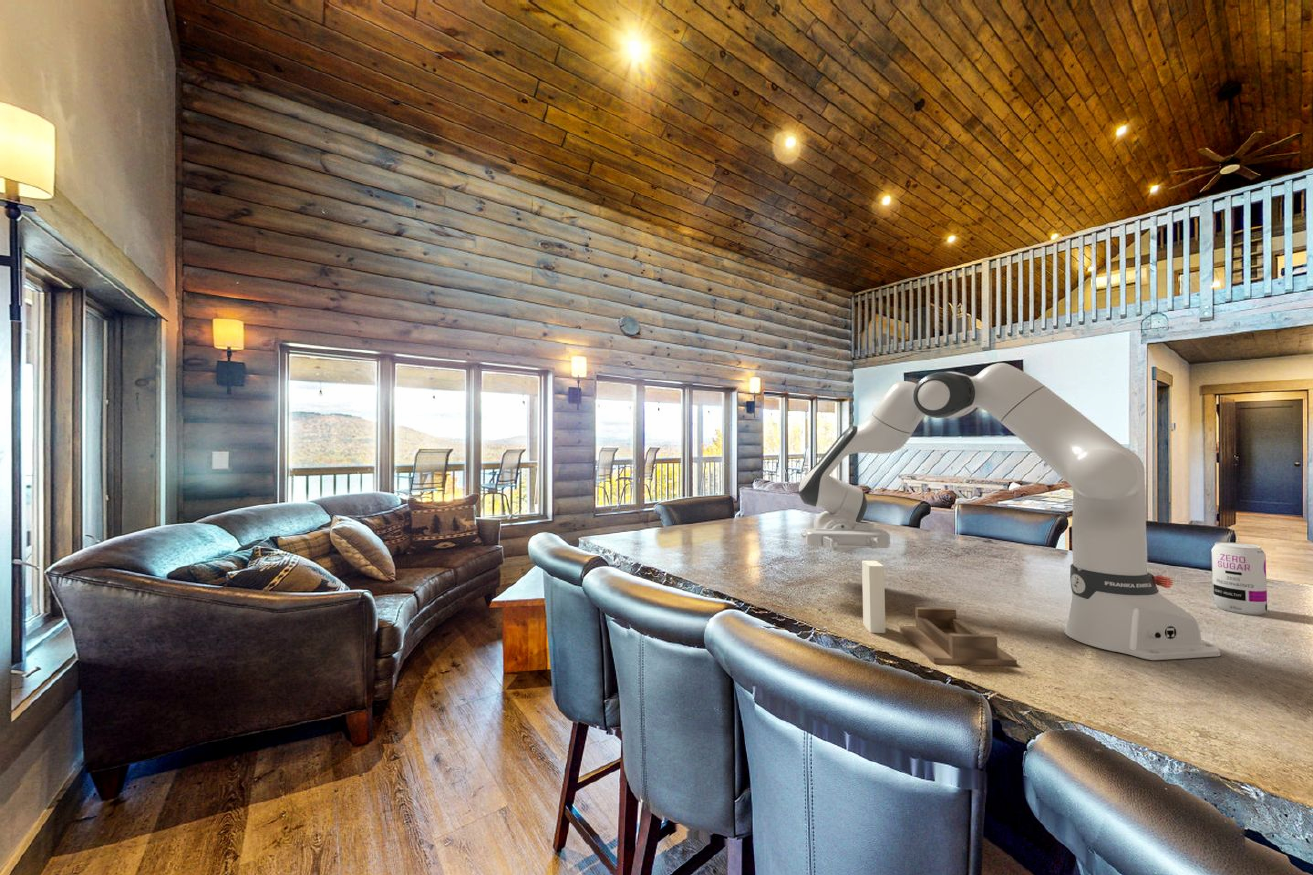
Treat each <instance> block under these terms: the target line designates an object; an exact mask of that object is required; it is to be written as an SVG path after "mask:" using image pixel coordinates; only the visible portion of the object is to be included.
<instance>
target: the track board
mask: <svg viewBox="0 0 1313 875" xmlns="http://www.w3.org/2000/svg"><path fill="white" fill-rule="evenodd" d="M914 608H915V610H914V611H915V612H914V613H915V626H911V625H900V626H899V631H900V632H901V633H902V634H903V635H904V636H905V637H906V638H907V639H908V640H909V641H910V642H911V643H912V644H913V645H914V646H915V647H916V648H917V649H918V650H919V651H921V652H922V653H923V655H925V656H926V657H927V658H928V659H929V660H930V662H932V663H933V664H936V665H937V664H938V665H939V664H940V665H942V664H943V665H972V666H974V665H977V666H979V665H980V666H983V665H984V666H1006V667H1007V666H1012V667H1013V666H1014V667H1017V665H1018V663H1017V662H1018V660H1017V659H1016V658H1014V657H1013V656H1012V655H1010V654H1009V653H1007V652H1006V651H1004V650H1003V649H1001V648H1000V647H999V646H998V636H996V635H995V634H989V633H986V634H985V633H979V632H978V631H976V630H975V629H974V628H972V627H970V626H969V625H968V624H966V623H965V622H963V621H962V620H961V619H959V618H957V610H956V609H955V608H954V607H923V606H922V607H921V606H920V607H919V606H918V607H916V606H915V607H914Z"/></svg>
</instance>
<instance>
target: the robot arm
mask: <svg viewBox="0 0 1313 875" xmlns="http://www.w3.org/2000/svg"><path fill="white" fill-rule="evenodd" d="M978 409H981V410H984V411H985V412H987V413H989V414H990V415H991V416H992V417H993V418H995V419H996V421H998V422H999V423H1000V424H1002V425H1003V426H1004V427H1005V428H1006V429H1008V430H1009V431H1010V432H1011V433H1012V434H1014V435H1015V436H1016V437H1017V438H1018V439H1019V440H1020V441H1022V442H1023V443H1024V444H1025V445H1026V446H1027V447H1029V449H1031V450H1032V451H1033V452H1034V453H1035V454H1036V455H1037V456H1038V457H1039V458H1040V459H1041V460H1042V461H1043V462H1044V463H1045V464H1046V465H1047V466H1049V468H1051V469H1052V470H1053V471H1054V472H1055V473H1056V474H1057V475H1058V476H1059V477H1061V478H1062V480H1063V481H1065V482H1066V483H1067V484H1068V485H1069V486H1070V487H1071V488H1072V491H1073V492H1072V494H1073V495H1072V517H1071V519H1072V520H1071V544H1072V549H1071V550H1072V563H1071V564H1070V571H1069V573H1070V574H1069V576H1070V579H1069V580H1070V588H1071V591H1072V592H1071V593H1072V594H1071V603H1070V604H1071V605H1070V609H1069V611H1070V612H1069V615H1068V620H1067V622H1066V626H1065V628H1064V633H1065V634H1066V636H1067V637H1069V638H1071V639H1073V640H1075V641H1076V642H1080V643H1082V644H1085V645H1088V646H1091V647H1095V648H1098V649H1102V650H1106V651H1110V652H1116V653H1117V652H1118V653H1122V654H1126V655H1130V656H1133V657H1137V658H1140V659H1143V660H1150V661H1161V660H1164V661H1165V660H1177V659H1178V660H1179V659H1180V660H1181V659H1194V658H1195V659H1196V658H1210V657H1211V658H1212V657H1220V656H1221V650H1220V649H1219V648H1218V647H1217V646H1215V645H1213V644H1212V643H1210V642H1208V641H1206V640H1204V639H1202V636H1201V630H1200V626H1199V624H1198V621H1197V620H1196V618H1195V617H1194V616H1193V615H1192V614H1191V613H1190V612H1187V611H1186V610H1185V609H1183V608H1182V607H1180V606H1178V604H1176V603H1175V602H1173V601H1171V600H1170V599H1168V597H1166V596H1164V595H1163V594H1162V593H1160V591H1159V589H1158V587H1157V586H1160V587H1162V588H1165V589H1170V588H1171V587H1172V586H1173V584H1174V582H1173V579H1172V578H1170V577H1167V576H1163V575H1160V574H1158V575H1155V576H1154V574H1152V573H1150V572H1149V571H1148V543H1147V518H1146V517H1147V516H1146V514H1147V513H1146V512H1147V511H1146V510H1147V508H1146V484H1145V483H1146V481H1145V480H1146V478H1145V477H1146V476H1145V473H1146V472H1145V466H1144V463H1143V461H1142V459H1141V458H1140V457H1139V456H1138V454H1136V453H1135V452H1134V451H1133V450H1131V449H1129V448H1128V447H1125V446H1123V445H1122V444H1121V443H1119V442H1118V441H1117V440H1116V439H1114V438H1113V437H1112V436H1111V435H1109V434H1108V433H1107V432H1105V431H1104V430H1103V429H1102V428H1101V427H1099V426H1098V425H1096V424H1095V423H1094V422H1092V420H1090V419H1089V418H1088V417H1086V416H1085V415H1084V414H1083V413H1082V412H1080V411H1078V409H1076V408H1075V407H1074V406H1072V405H1071V404H1070V403H1068V402H1067V401H1065V400H1064V399H1063V398H1062V397H1060V396H1059V395H1058V394H1056V393H1055V392H1054V391H1052V390H1051V389H1050V388H1048V387H1047V386H1046V385H1044V384H1043V383H1042V382H1040V381H1039V380H1038V379H1037V378H1035V377H1034V376H1032V375H1031V374H1028V373H1026V372H1025V371H1023V370H1021V369H1019V368H1018V367H1015V366H1013V365H1011V364H1008V363H1006V362H998V363H994V364H991V365H989V366H987V367H985V368H983V369H982V370H981V371H979V373H978V374H976V375H970V374H966V373H961V372H956V371H937V372H932V373H929V374H928V375H926V376H924V377H922V378H921V379H920V380H919V381H918V382H917V383H915V382H913V381H909V380H902V381H901V380H900V381H896V382H895V383H893V385H891V386H890V387H889V388H888V390H887V391H886V392H885V393H884V394H883V396H882V397H881V399H879V401H878V403H877V404H876V406H875V407H874V409H873V410H872V411H871V414H870V415H869V416H868V418H866V419H865V420H864V421H863V422H861V423H859V424H858V425H852V426H849V427H848V428H847V429H845V430H844V431H843V432H842V434H841V435H840V436H838V438H837V439H836V440H835V441H834V443H833V444H832V445H831V446H830V448H829V449H828V450H826V452H825V453H824V455H822V457H821V458H820V459H819V460H818V462H817V463H816V464H815V465H814V466H813V467H812V468H810V470H809V471H808V472H807V473H806V474H805V475H804V476H803V478H802V479H801V480H800V482H799V485H798V489H797V493H798V495H799V497H800V499H801V501H802V502H803V503H804V504H806V505H809V506H811V507H814V508H818V509H820V510H823V511H822V512H820V513H818V514H817V515H816V516H815V518H814V521H813V528H812V527H811V528H806V529H805V532H801V534H800V535H801V537H802V538H805V544H806V545H807V547H811V548H830V549H832V551H836V552H840V553H842V552H843V553H844V552H847V551H850V550H856V549H867V548H868V549H888V548H890V546H891V535H890V533H889V532H888V531H886V530H884V529H883V528H881V527H878V526H875V524H874V523H873V522H868V521H862V520H863V518H864V516H865V514H866V511H867V507H868V501H867V497H866V494H865V491H864V490H863V488H860V487H858V486H855V485H853V484H850V483H848V482H845V481H842V480H840V479H838V478H835V477H833V476H831V474H832V473H833V472H834V470H836V468H837V467H838V465H840V464H841V462H842V461H843V460H844V459H845V458H846V457H848V456H849V455H854V454H859V453H860V454H861V453H862V454H865V453H867V454H879V455H881V454H882V455H883V454H889V453H890V454H891V453H894V452H896V451H898V450H900V449H902V448H903V447H904V446H905V444H906V443H907V442H908V441H909V440H910V438H911V437H912V435H913V433H914V432H915V430H916V428H917V427H918V425H919V423H921V421H922V420H923V419H924V418H925V417H926V416H928V417H931V418H936V419H956V418H961V417H965V416H968V415H971V414H973V413H974V412H976V411H977V410H978Z"/></svg>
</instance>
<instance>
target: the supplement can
mask: <svg viewBox="0 0 1313 875" xmlns="http://www.w3.org/2000/svg"><path fill="white" fill-rule="evenodd" d="M1210 551H1211V577H1212V578H1211V583H1212V604H1214V605H1215V606H1216V607H1217V608H1218V609H1220V610H1223V611H1226V612H1232V613H1235V614H1241V615H1250V616H1261V615H1264V614H1265V613H1267V612H1268V589H1267V588H1268V587H1267V584H1268V583H1267V562H1266V560H1267V559H1266V557H1267V556H1266V553H1265V552H1264V550H1263V548H1262V546H1259V545H1256V544H1249V543H1241V542H1231V541H1230V542H1228V541H1224V542H1223V541H1217V542H1216V541H1215V543H1214V545H1213V547H1212V548H1211V550H1210Z"/></svg>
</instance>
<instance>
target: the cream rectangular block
mask: <svg viewBox="0 0 1313 875" xmlns="http://www.w3.org/2000/svg"><path fill="white" fill-rule="evenodd" d="M861 570H862V571H861V578H862V579H861V581H862V583H861V585H862V586H861V588H862V622H863V623H862V624H863V626H864V627H865V629H867V630H868V631H869V632H870V633H871V634H886V598H885V597H886V596H885V595H886V594H885V593H886V592H885V566H884V565H883V564H881V563H880V562H879V561H877V560H861Z"/></svg>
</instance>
